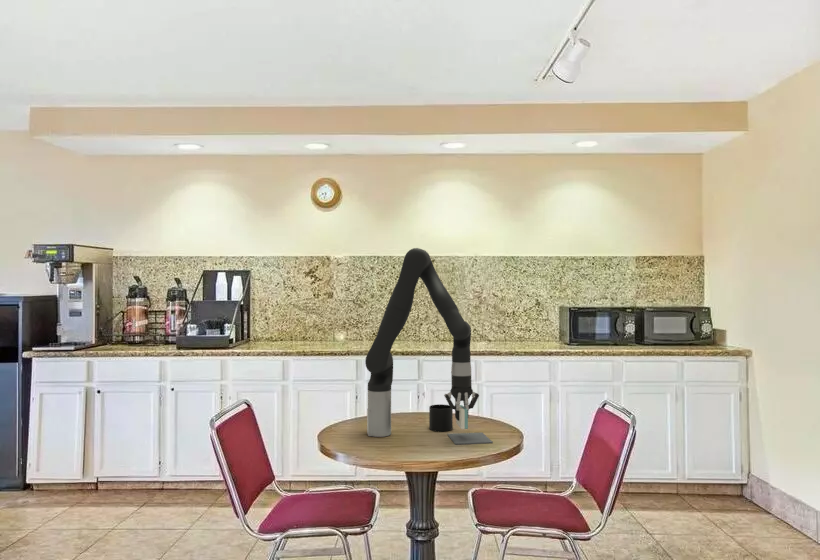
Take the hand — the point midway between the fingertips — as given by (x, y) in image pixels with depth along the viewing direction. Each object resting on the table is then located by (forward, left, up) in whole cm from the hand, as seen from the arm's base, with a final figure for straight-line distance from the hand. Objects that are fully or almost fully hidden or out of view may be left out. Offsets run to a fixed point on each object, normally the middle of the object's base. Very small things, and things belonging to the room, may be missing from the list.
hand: (461, 419), depth 208 cm
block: (0, 0, -2) cm, 2 cm away
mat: (+3, 0, -7) cm, 8 cm away
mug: (-5, +18, -8) cm, 20 cm away
